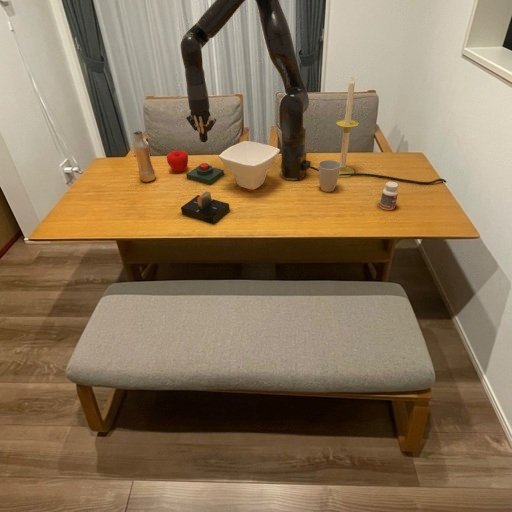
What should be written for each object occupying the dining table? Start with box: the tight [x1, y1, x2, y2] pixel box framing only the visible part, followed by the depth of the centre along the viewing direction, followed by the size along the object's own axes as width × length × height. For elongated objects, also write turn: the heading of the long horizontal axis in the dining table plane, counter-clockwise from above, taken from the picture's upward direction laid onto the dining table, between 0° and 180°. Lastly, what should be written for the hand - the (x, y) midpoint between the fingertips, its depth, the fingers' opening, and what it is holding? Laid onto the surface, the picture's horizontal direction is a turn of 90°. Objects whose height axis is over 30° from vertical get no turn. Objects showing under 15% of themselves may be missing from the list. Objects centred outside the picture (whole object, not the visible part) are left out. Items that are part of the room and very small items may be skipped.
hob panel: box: [180, 194, 231, 225], centre depth 138 cm, size 14×10×3 cm
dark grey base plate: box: [185, 164, 225, 186], centre depth 160 cm, size 12×10×4 cm
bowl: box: [218, 140, 281, 191], centre depth 150 cm, size 19×19×14 cm
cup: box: [317, 159, 341, 193], centre depth 147 cm, size 8×8×10 cm
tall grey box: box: [197, 191, 212, 210], centre depth 136 cm, size 6×2×4 cm, turn 149°
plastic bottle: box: [132, 130, 156, 183], centre depth 155 cm, size 6×7×20 cm
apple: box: [166, 150, 189, 173], centre depth 165 cm, size 9×9×8 cm
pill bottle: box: [379, 181, 399, 211], centre depth 135 cm, size 5×5×9 cm
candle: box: [335, 75, 360, 178], centre depth 149 cm, size 10×10×38 cm
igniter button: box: [199, 162, 210, 170], centre depth 159 cm, size 4×4×2 cm
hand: (204, 141), depth 153 cm, fingers closed
